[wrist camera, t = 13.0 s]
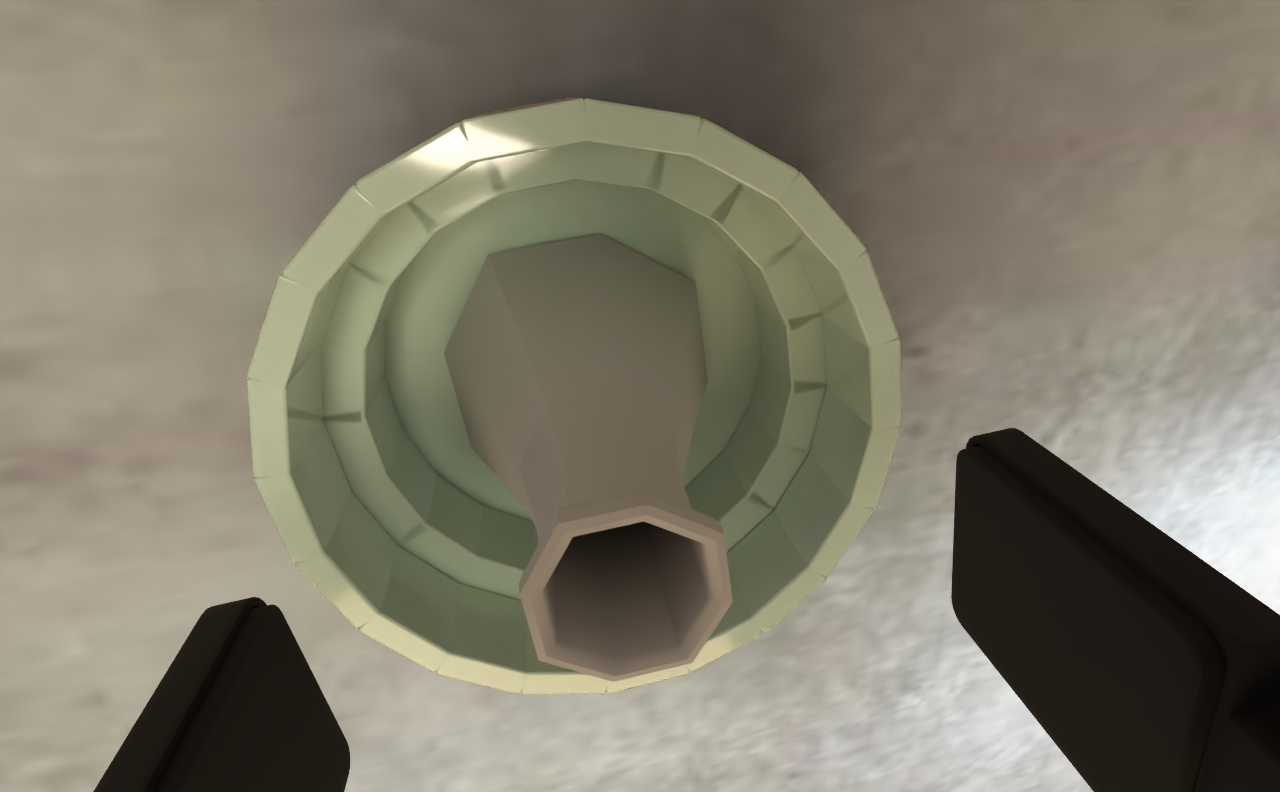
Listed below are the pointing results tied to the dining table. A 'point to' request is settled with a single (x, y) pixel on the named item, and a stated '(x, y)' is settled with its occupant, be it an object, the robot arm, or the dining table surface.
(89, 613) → the dining table surface
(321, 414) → the basin
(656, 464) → the flask
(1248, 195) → the dining table surface
